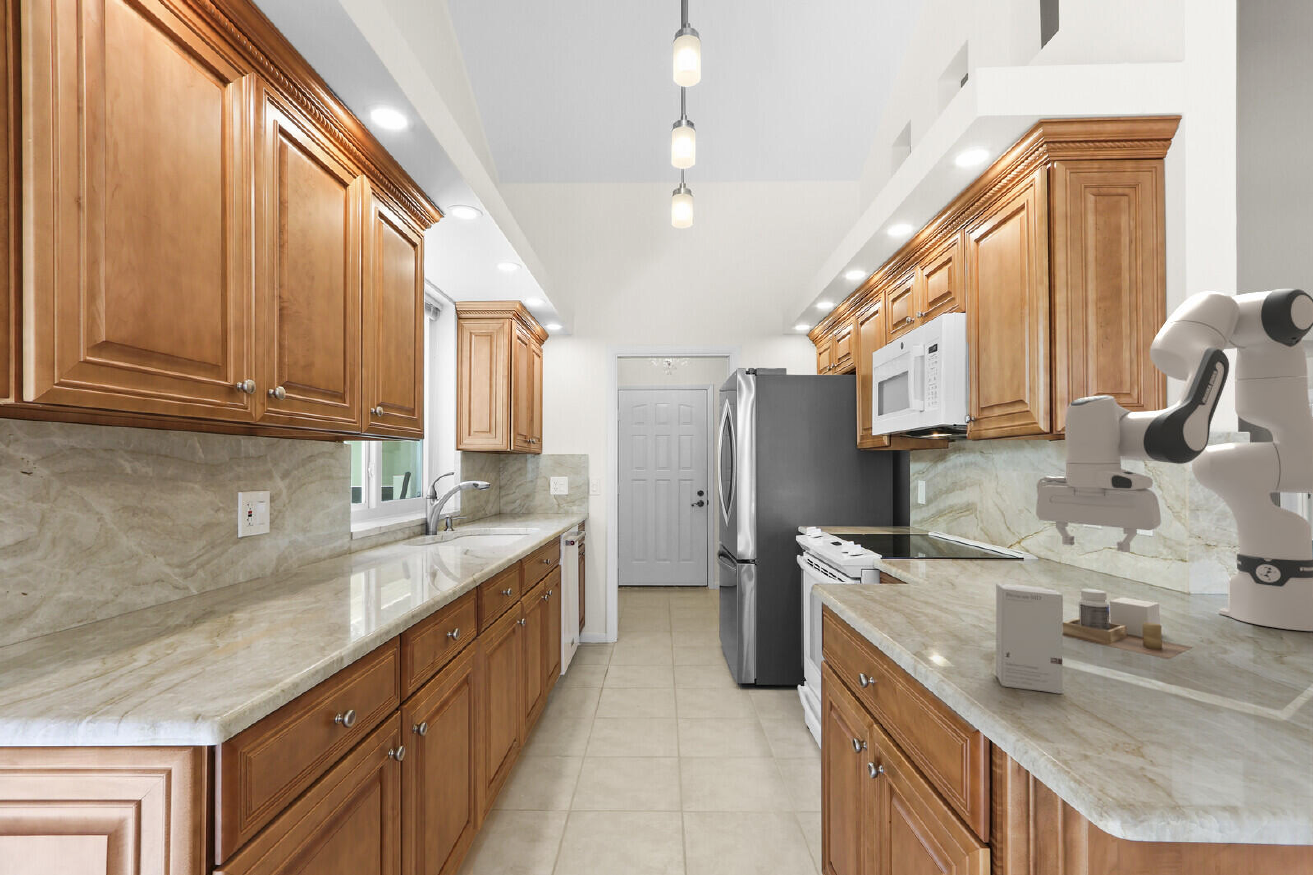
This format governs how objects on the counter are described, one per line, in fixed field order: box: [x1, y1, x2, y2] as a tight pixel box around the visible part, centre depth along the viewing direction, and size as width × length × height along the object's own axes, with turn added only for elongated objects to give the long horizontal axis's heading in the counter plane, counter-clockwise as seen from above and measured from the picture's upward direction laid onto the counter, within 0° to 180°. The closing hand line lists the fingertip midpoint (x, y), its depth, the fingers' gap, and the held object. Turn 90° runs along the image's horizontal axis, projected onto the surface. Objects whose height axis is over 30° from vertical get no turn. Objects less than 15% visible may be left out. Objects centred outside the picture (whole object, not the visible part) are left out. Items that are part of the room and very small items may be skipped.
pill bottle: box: [1078, 588, 1110, 631], centre depth 115 cm, size 5×5×8 cm
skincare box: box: [995, 582, 1064, 694], centre depth 92 cm, size 8×6×15 cm
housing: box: [1109, 597, 1161, 637], centre depth 117 cm, size 6×6×7 cm
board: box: [1063, 617, 1193, 660], centre depth 111 cm, size 12×17×5 cm
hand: (1095, 548), depth 118 cm, fingers open, 8 cm apart
